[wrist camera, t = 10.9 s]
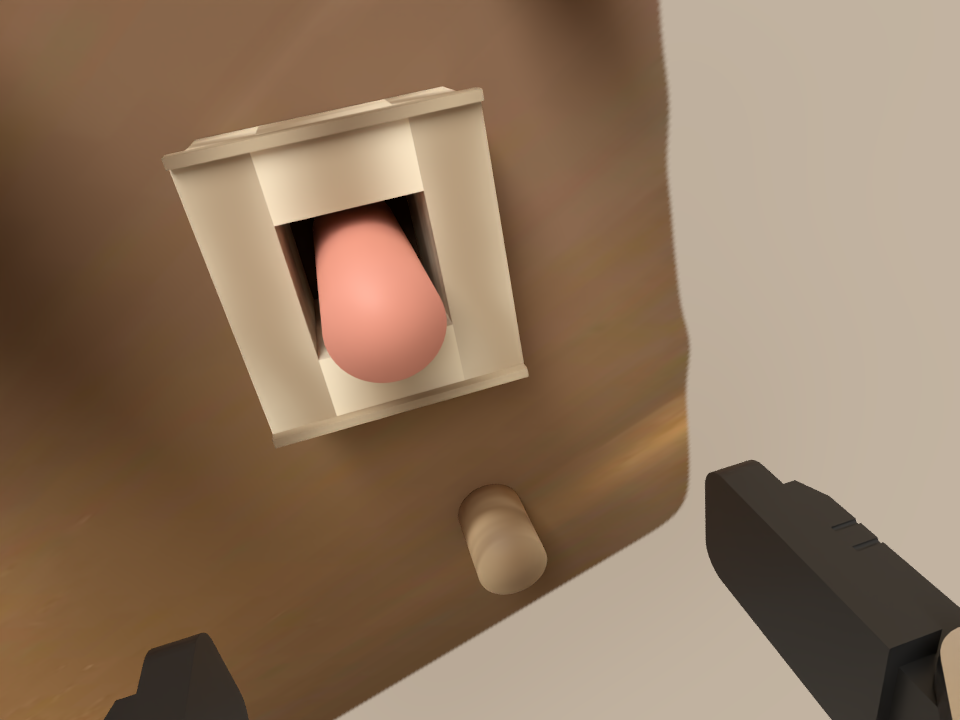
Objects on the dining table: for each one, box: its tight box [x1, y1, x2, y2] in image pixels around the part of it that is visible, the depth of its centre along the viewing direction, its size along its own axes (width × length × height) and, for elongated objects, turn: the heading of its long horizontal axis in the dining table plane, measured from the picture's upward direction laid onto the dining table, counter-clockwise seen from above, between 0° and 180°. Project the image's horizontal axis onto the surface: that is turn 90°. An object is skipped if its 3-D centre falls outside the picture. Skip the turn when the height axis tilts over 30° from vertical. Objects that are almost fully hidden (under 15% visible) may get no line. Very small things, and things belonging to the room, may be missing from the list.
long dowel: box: [313, 201, 447, 383], centre depth 27 cm, size 4×4×12 cm
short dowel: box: [458, 484, 547, 594], centre depth 39 cm, size 4×4×5 cm
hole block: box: [161, 87, 529, 448], centre depth 29 cm, size 11×12×8 cm
